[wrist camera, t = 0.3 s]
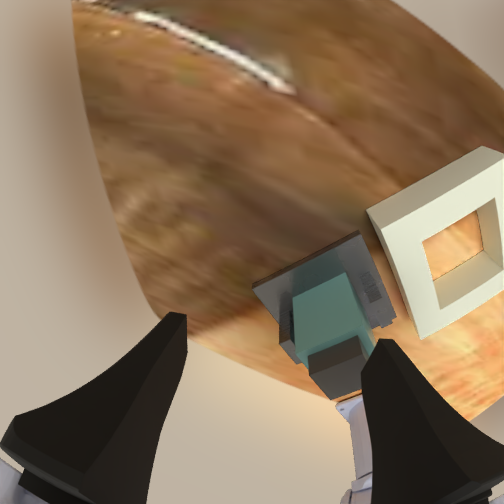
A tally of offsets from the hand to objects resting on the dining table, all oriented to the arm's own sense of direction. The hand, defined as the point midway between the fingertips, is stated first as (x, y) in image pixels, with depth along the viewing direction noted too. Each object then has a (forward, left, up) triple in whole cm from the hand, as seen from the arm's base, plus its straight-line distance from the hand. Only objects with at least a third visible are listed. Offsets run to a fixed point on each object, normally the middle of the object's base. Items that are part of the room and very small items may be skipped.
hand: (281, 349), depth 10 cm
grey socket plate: (-6, -1, -9) cm, 11 cm away
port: (-6, -11, -9) cm, 15 cm away
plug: (-6, -1, -9) cm, 11 cm away
